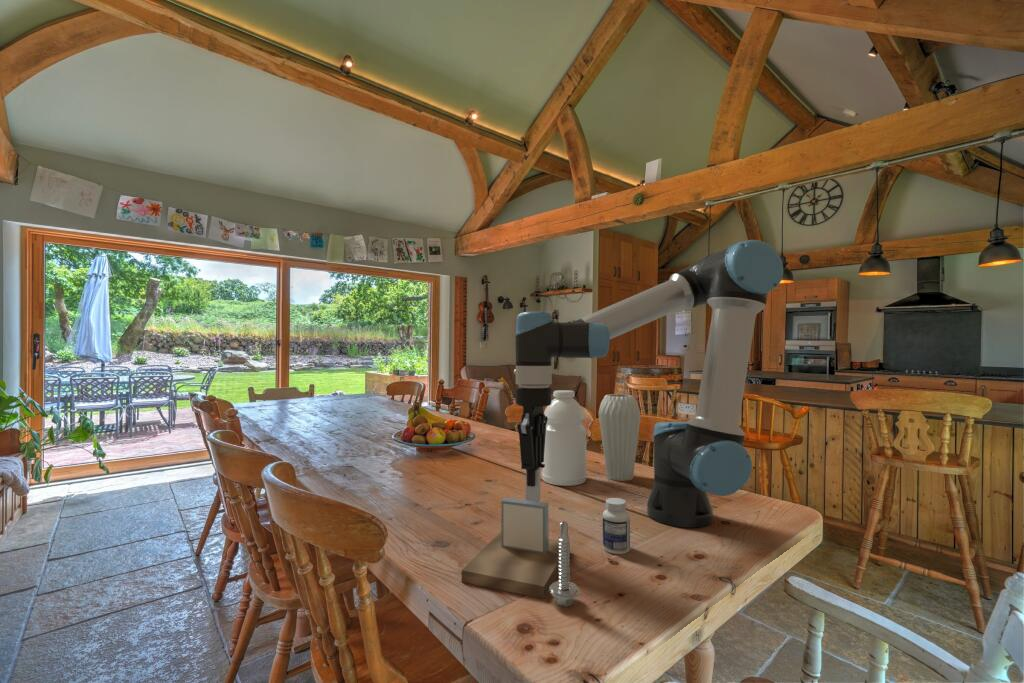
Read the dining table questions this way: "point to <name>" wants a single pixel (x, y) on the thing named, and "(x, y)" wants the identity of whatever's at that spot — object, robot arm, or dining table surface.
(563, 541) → the screw
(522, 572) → the board
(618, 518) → the pill bottle
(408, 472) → the dining table surface
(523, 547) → the tile
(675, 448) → the robot arm
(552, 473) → the bottle
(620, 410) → the vase
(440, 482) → the dining table surface
